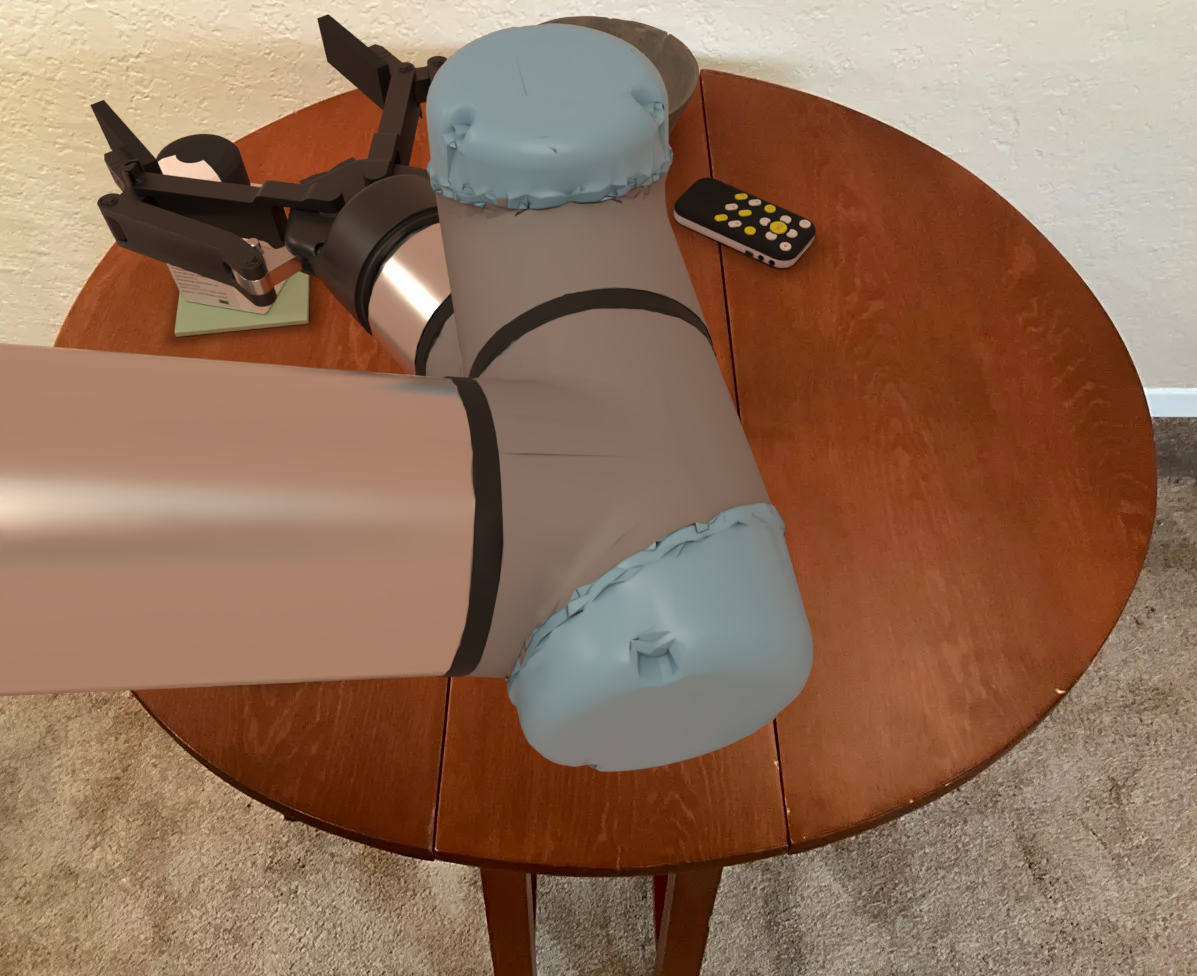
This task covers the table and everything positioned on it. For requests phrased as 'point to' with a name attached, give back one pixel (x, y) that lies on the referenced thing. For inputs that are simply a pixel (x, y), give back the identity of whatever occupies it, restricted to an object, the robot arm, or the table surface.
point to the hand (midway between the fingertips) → (222, 79)
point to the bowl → (652, 56)
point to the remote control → (744, 222)
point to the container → (213, 163)
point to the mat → (215, 319)
